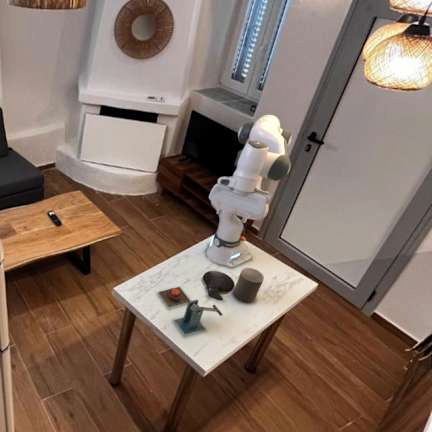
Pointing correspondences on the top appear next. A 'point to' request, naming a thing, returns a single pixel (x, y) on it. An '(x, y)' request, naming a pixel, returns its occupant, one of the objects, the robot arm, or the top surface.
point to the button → (175, 292)
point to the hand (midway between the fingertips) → (230, 218)
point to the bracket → (191, 319)
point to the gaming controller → (214, 291)
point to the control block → (173, 300)
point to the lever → (207, 309)
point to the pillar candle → (248, 285)
